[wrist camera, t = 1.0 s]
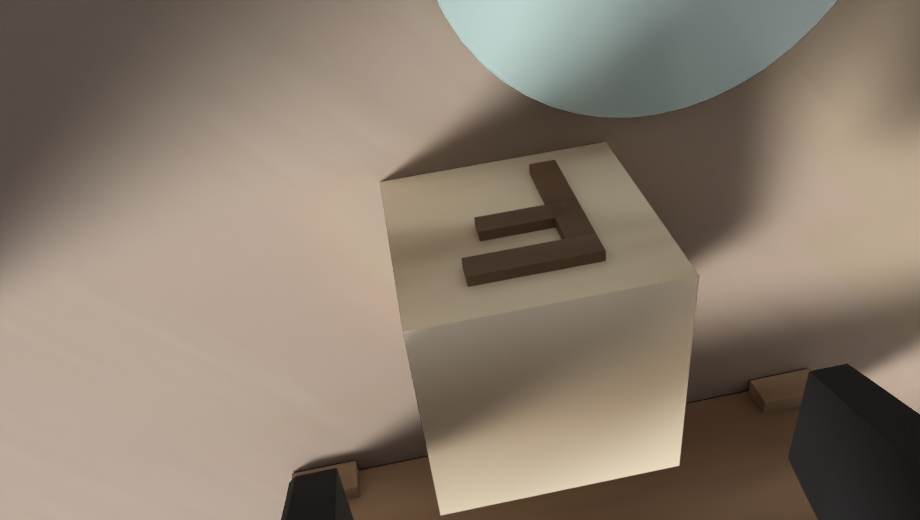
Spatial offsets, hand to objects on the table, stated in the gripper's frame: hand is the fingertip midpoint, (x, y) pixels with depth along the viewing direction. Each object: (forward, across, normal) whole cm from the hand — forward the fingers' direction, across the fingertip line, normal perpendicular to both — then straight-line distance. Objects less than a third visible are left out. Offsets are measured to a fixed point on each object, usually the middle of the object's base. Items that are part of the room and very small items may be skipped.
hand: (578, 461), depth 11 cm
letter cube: (+6, 0, 0) cm, 6 cm away
